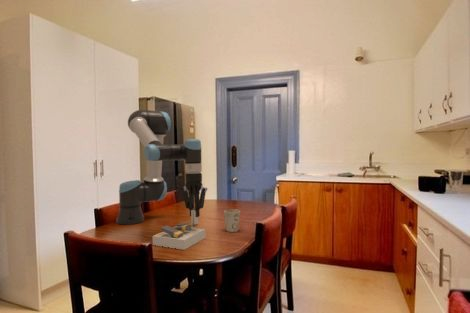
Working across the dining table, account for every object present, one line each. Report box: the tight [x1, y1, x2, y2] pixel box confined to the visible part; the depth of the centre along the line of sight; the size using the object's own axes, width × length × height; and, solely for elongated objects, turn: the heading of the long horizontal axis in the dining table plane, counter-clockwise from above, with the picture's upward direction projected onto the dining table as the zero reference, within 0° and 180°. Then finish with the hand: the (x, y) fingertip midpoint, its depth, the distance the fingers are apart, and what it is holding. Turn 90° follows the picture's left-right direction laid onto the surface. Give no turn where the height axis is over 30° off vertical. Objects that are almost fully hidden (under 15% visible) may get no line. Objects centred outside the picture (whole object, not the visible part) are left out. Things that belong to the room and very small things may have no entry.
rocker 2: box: [171, 224, 192, 230], centre depth 132 cm, size 9×4×1 cm, turn 67°
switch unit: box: [152, 225, 206, 251], centre depth 132 cm, size 16×18×5 cm
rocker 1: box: [160, 224, 184, 238], centre depth 126 cm, size 9×4×1 cm, turn 67°
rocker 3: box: [176, 221, 199, 228], centre depth 138 cm, size 9×4×1 cm, turn 67°
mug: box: [223, 208, 241, 233], centre depth 152 cm, size 8×13×10 cm, turn 27°
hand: (194, 223), depth 136 cm, fingers closed
